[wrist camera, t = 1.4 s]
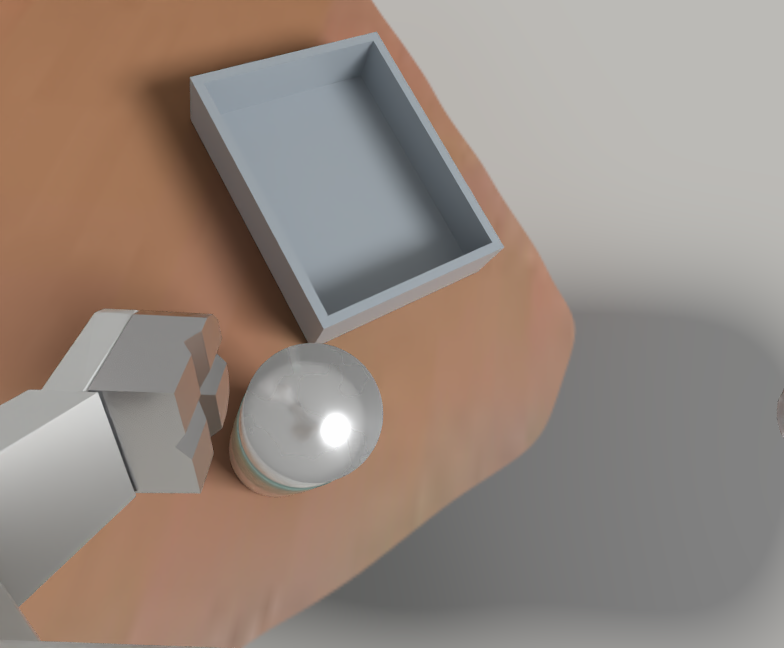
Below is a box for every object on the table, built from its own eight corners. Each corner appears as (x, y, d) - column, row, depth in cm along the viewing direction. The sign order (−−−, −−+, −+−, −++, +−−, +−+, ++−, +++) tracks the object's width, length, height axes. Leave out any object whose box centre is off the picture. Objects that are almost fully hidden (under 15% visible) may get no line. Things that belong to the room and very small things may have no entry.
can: (210, 425, 34) (216, 378, 24) (300, 382, 37) (343, 320, 26) (255, 517, 34) (283, 512, 23) (344, 467, 36) (408, 441, 25)
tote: (190, 119, 40) (189, 77, 36) (361, 72, 45) (376, 31, 41) (311, 348, 37) (323, 329, 34) (477, 271, 43) (504, 247, 39)
